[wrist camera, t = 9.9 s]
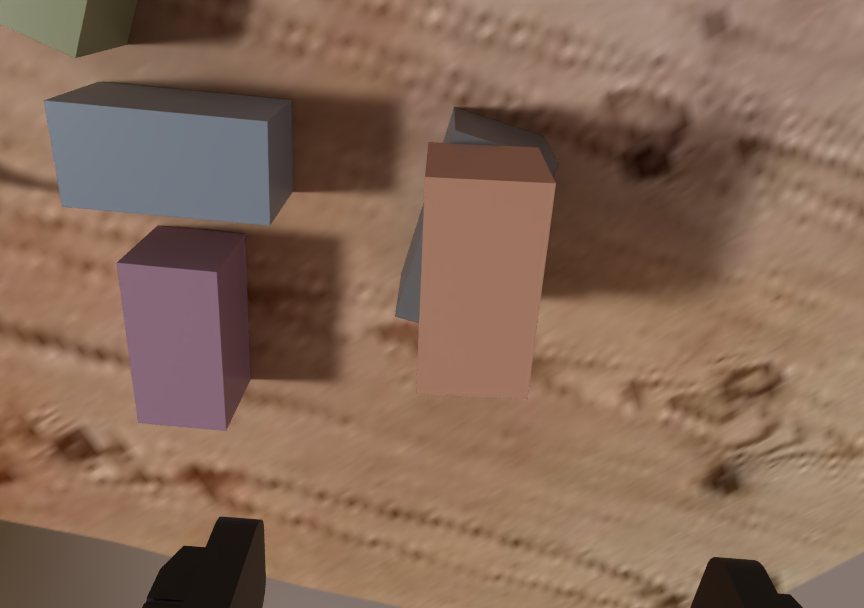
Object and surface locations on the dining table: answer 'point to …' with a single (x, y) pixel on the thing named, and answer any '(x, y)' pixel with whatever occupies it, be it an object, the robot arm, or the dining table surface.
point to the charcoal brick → (459, 131)
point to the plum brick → (187, 326)
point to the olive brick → (71, 23)
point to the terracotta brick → (482, 268)
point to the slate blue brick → (172, 152)
